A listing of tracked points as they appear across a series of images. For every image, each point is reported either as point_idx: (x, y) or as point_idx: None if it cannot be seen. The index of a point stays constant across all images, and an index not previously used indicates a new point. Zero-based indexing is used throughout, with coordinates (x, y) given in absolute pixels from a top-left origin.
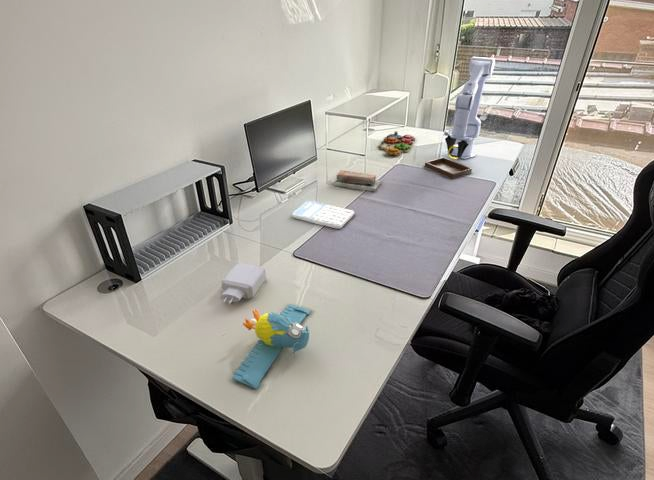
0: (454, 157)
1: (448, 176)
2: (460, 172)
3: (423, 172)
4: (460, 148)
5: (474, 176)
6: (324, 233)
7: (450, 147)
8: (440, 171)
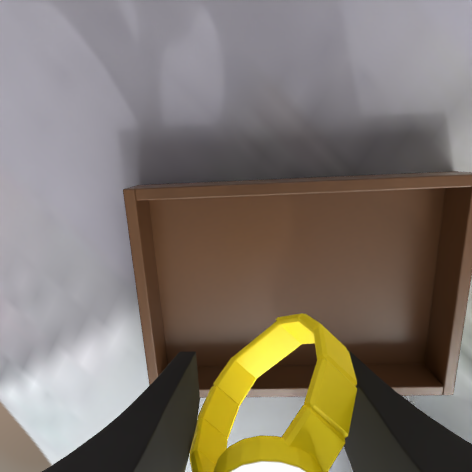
0: (267, 365)
1: (178, 184)
2: (136, 276)
3: (370, 69)
4: (81, 448)
5: (110, 352)
6: None
7: (349, 419)
8: (270, 181)
